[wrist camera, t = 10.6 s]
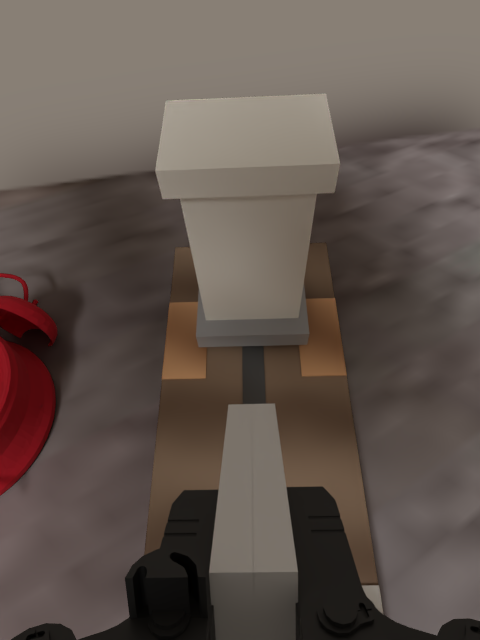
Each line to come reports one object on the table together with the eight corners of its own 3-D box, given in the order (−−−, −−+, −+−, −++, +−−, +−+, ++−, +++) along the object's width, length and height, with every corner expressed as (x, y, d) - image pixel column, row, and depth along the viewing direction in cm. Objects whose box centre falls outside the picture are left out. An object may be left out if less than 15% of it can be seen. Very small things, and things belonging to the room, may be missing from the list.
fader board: (388, 734, 16) (404, 754, 14) (138, 732, 17) (123, 751, 15) (322, 262, 29) (326, 241, 27) (180, 266, 29) (175, 246, 27)
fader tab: (307, 344, 23) (342, 174, 13) (198, 347, 23) (153, 180, 13) (299, 272, 25) (324, 86, 16) (202, 275, 26) (167, 93, 16)
